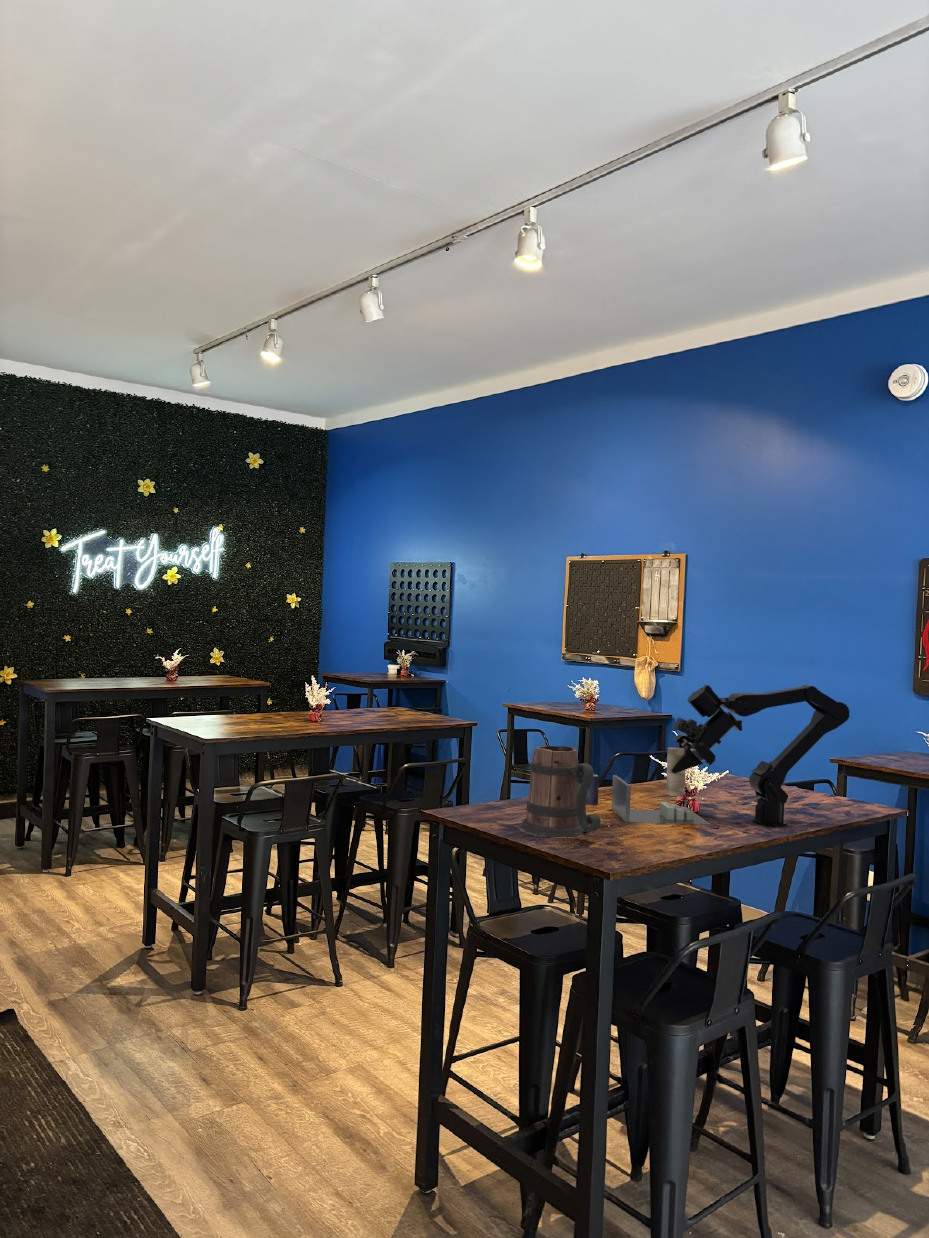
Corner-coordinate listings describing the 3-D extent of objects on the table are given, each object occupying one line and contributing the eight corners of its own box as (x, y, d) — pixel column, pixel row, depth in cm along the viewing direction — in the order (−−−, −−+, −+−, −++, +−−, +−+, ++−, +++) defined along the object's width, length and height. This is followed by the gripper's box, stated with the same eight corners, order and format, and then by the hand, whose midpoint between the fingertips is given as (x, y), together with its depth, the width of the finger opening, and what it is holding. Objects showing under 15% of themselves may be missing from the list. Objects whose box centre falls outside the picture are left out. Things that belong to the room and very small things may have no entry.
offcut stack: (685, 814, 246) (686, 802, 246) (693, 820, 239) (694, 808, 239) (659, 813, 245) (660, 802, 245) (667, 819, 238) (667, 807, 238)
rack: (691, 814, 251) (693, 777, 251) (711, 828, 235) (712, 788, 235) (611, 812, 249) (612, 775, 249) (625, 825, 233) (626, 785, 233)
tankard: (503, 826, 226) (506, 744, 226) (554, 820, 236) (558, 741, 236) (569, 848, 207) (573, 758, 207) (622, 840, 217) (626, 754, 217)
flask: (563, 805, 257) (565, 766, 257) (567, 803, 259) (569, 764, 259) (596, 809, 253) (598, 769, 253) (599, 807, 255) (601, 768, 255)
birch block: (681, 793, 244) (682, 747, 244) (684, 795, 241) (686, 749, 241) (666, 793, 244) (667, 747, 244) (669, 795, 241) (670, 749, 241)
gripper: (682, 704, 252) (641, 743, 251) (704, 711, 233) (659, 753, 232) (710, 734, 252) (668, 773, 252) (734, 743, 234) (689, 786, 233)
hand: (670, 771), depth 242 cm, fingers closed on birch block, 3 cm apart
